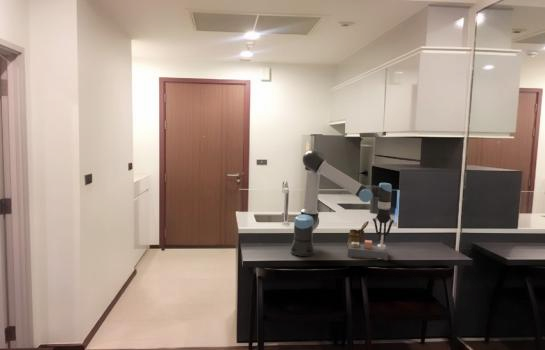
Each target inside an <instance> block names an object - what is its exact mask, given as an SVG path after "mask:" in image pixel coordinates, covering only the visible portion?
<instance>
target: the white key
mask: <svg viewBox="0 0 545 350" xmlns="http://www.w3.org/2000/svg"><path fill="white" fill-rule="evenodd" d="M376 246H377V250H385V246H386V244H383V246H380V243H379V244H377V245H376Z"/></svg>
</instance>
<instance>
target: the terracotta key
mask: <svg viewBox="0 0 545 350" xmlns="http://www.w3.org/2000/svg"><path fill="white" fill-rule="evenodd" d="M364 244H365V245H364V248H366V249H372V245H373V240H371V239H370V240H369V239H368V240H367V239H364Z"/></svg>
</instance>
